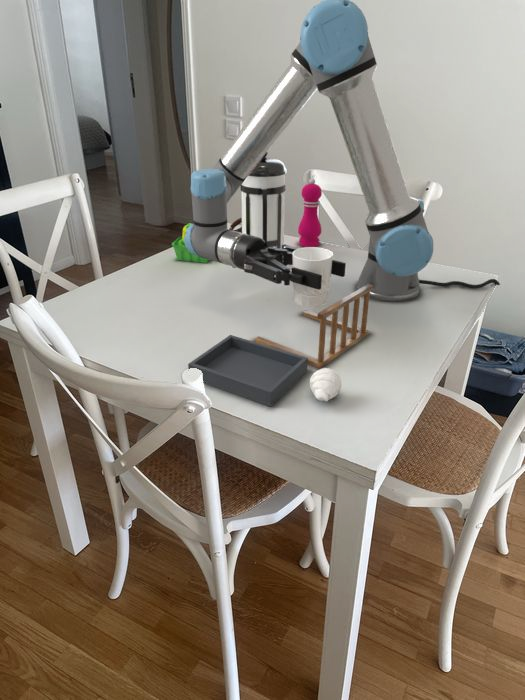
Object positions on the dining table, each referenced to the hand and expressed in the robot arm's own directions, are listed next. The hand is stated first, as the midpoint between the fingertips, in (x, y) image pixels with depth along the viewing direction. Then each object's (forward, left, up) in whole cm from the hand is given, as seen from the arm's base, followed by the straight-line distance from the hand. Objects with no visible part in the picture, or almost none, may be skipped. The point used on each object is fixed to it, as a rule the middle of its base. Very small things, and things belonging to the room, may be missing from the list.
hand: (332, 276), depth 103 cm
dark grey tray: (+15, +13, -15) cm, 25 cm away
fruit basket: (+37, -48, -15) cm, 63 cm away
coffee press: (+17, -51, -15) cm, 56 cm away
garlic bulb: (+1, +21, -15) cm, 26 cm away
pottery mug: (+24, -68, -15) cm, 74 cm away
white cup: (+4, -3, -7) cm, 8 cm away
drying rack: (+4, -3, -15) cm, 16 cm away
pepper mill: (+4, -65, -15) cm, 67 cm away
